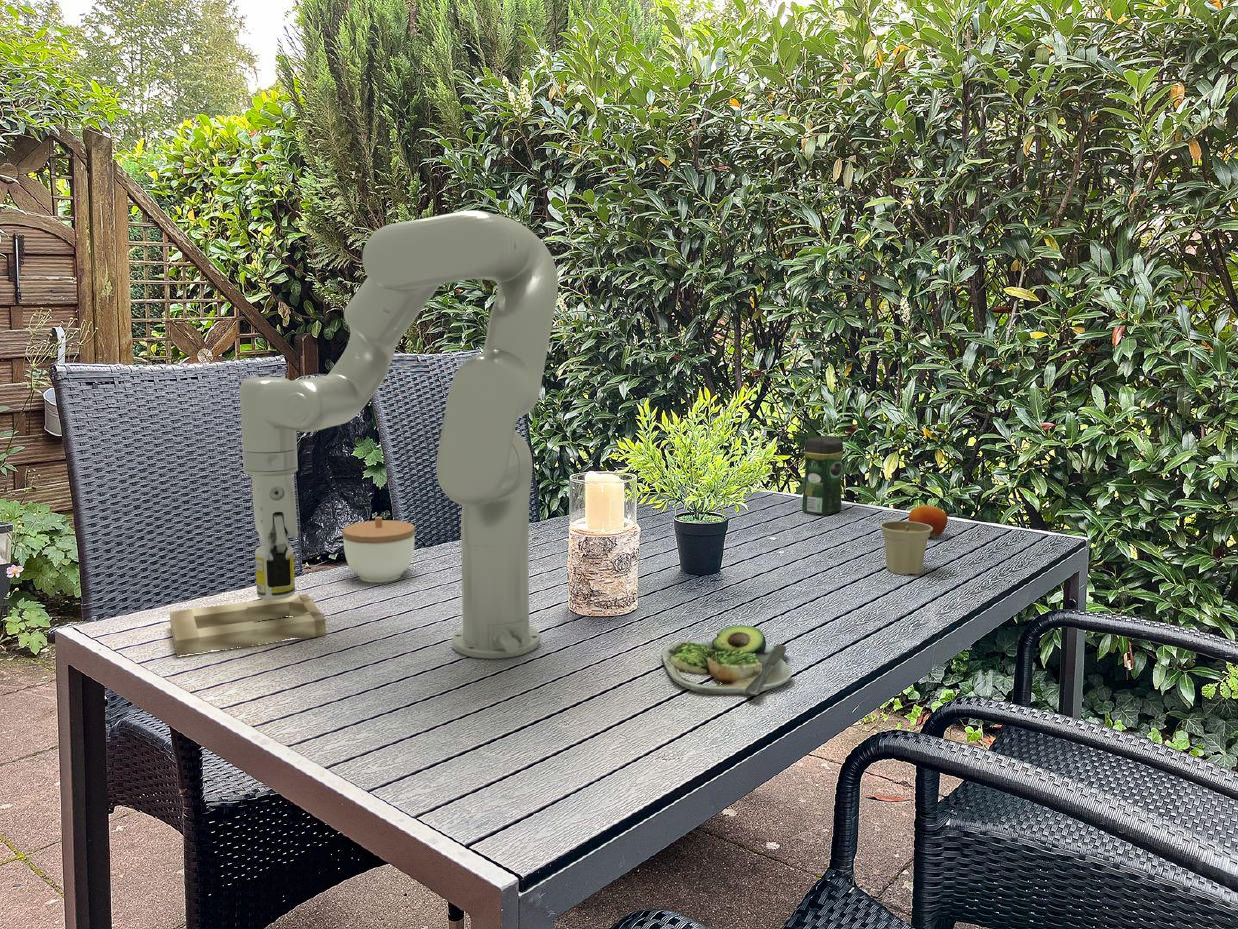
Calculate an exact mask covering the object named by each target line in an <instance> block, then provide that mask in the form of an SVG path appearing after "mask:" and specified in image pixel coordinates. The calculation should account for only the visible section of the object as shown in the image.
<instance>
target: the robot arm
mask: <svg viewBox="0 0 1238 929" xmlns="http://www.w3.org/2000/svg"><path fill="white" fill-rule="evenodd" d="M362 266H363V269H364V271H365V274H366V275H367V277H366V279H364V282H363V283H362V284H361V285H360V287H359V289H358V290H356V292H355V293H354V295H353V297H352V298H351V299H350V300H349V302H348V304H347V305H346V307H345V309H344V311H343V312H344V313H343V317H344V321H345V323H346V324H347V326H348V328H349V331H350V332H349V333H350V335H349V340H348V342H347V345H346V347H345V349H344V351H343V353H342V354H341V356H340V357H339V359H338V360H337V362H336V363H335V364H334V366H333V367H332V368H331V370H330V371H329V373H328V374H326V375H322V376H313V377H309V378H300V379H295V380H290V379H289V378H285V377H280V376H279V377H278V376H260V377H259V376H257V377H255V376H254V377H248V378H246V379H244V380H243V381H241V384H240V386H239V403H240V423H241V424H240V426H241V427H240V428H241V441H242V442H241V444H242V446H241V448H242V463H243V464H242V465H243V466H242V467H243V474H246V475H250V476H251V477H252V478H251V481H252V482H251V484H252V485H251V486H252V504H253V505H252V506H253V516H254V526H255V531H256V532H257V533H258V536H259V535H260V536H261V538H262V539H263V540H265V541H266V542H267V549H268V559H269V560H266V564H267V584H268V587H279V586H287V585H290V584H291V575H290V558H289V551H288V544H289V541H288V540H289V539H287V534H288V537H290V538H291V539H292V540H296V539H297V538H298V536H299V531H298V521H297V520H298V519H297V509H296V508H297V507H296V506H297V505H296V496H295V495H296V494H295V487H294V479H293V473H297V472H298V471H299V468H298V467H299V466H298V464H299V463H298V462H299V461H298V442H297V440H298V439H297V438H298V437H297V432H300V433H301V432H302V433H309V432H310V433H311V432H316V431H322V430H325V429H327V428H328V429H329V428H331V427H336V426H341V425H343V424H346V423H349V422H351V420H353V419H354V418H355V417H357V416H358V415H359V414H360V413H361V411H362V410H363V409H364V408H365V407H366V405H367V404H368V403H369V401H370V400H371V398H372V397H373V396H374V395H375V393H376V392H377V390H378V389H379V388H380V387H381V384H382V383H383V382H384V380H385V377H386V376H387V374H388V372H389V370H390V367H391V363H392V361H393V359H394V356H395V351H396V347H397V345H398V344H399V343H400V340H401V339H402V338H403V336H404V335H405V334H406V332H407V331H408V330H409V328H410V326H411V325H412V324H413V323H414V321H415V320H416V318H417V317H418V316H419V314H420V313H421V312H422V310H423V309H424V308H425V307H426V305H428V302H429V301H430V299H432V297H433V296H434V294H435V293H436V291H437V290H438V289H439V288H440V286H441V285H442V284H443V285H444V284H447V283H454V282H461V281H468V280H470V281H471V280H485V281H486V280H487V281H494V282H495V283H496V285H497V293H496V298H495V300H494V303H493V304H492V305H493V306H492V308H491V311H490V314H489V318H488V326H487V333H486V336H485V341H484V346H483V349H482V353H479V354H476V355H474V356H471V357H469V358H468V359H466V361H464V362H463V363H462V364H461V365H460V367H459V368H458V369H457V371H456V373H455V374H454V376H453V378H452V382H451V384H450V387H449V390H448V395H447V400H446V404H445V405H446V406H445V412H444V417H443V422H442V427H441V431H440V432H441V433H440V438H439V444H438V450H437V453H436V454H437V455H436V463H435V464H436V465H435V466H436V467H435V468H436V469H435V470H436V477H437V480H438V484H439V487H440V488H441V490H442V491H443V493H444V494H445V495H446V496H447V497H448V499H449V500H451V501H452V502H454V503H456V504H457V505H460V506H462V508H461V517H460V518H461V520H460V521H461V522H460V546H461V547H460V549H461V550H460V551H461V552H460V553H461V556H460V557H461V558H460V559H461V593H462V594H461V596H462V597H461V598H462V599H461V601H462V602H461V603H462V607H461V608H462V629H460V630H458V631H456V632H455V633H454V634H453V635H452V637H451V638H452V639H451V645H452V648H453V650H455V651H456V652H458V653H459V654H460V655H461V654H462V655H464V656H467V657H472V658H477V659H488V660H489V659H506V658H507V659H508V658H513V657H518V656H521V655H526V654H528V653H530V652H532V651H533V650H535V649H536V648H538V647H539V645H540V643H541V635H540V632H539V631H538V630H537V629H535V628H534V627H531V626H530V567H529V566H530V558H529V556H530V552H529V548H530V547H529V544H530V543H529V539H530V538H529V537H530V530H529V528H530V522H529V521H530V517H529V516H530V501H531V499H530V498H531V490H532V489H531V488H532V478H533V459H532V458H533V457H532V453H531V450H530V447H529V444H528V442H527V441H526V439H524V437H523V436H522V435H521V433H519V432H517V431H516V425H517V421H518V419H520V418H522V417H523V416H525V415H526V414H528V413H530V412H531V411H532V410H533V409H534V408H535V406H536V404H537V403H538V400H539V397H540V394H541V388H542V381H543V376H544V371H545V364H546V360H547V354H548V351H549V344H550V337H551V332H552V326H553V323H554V316H555V311H556V305H557V300H558V291H559V278H558V272H557V267H556V264H555V260H554V258H553V256H552V253H551V251H550V250H549V249H548V247H547V246H546V244H545V243H544V242H543V241H542V240H541V239H540V238H539V236H537V234H535V233H534V231H532V230H530V229H529V228H527V226H525V225H524V224H521V223H520V222H518V221H516V220H513V219H512V218H508V217H506V216H502V215H498V214H494V213H491V212H488V211H483V210H462V211H456V212H450V213H446V214H440V215H435V216H431V217H424V218H419V219H415V220H406V221H400V222H396V223H391V224H387V225H384V226H382V227H380V228H378V229H377V230H375V231H374V232H373V234H371V235H370V236H369V238H368V239H367V241H366V243H365V245H364V247H363V250H362ZM273 535H275V538H276V539H270V536H273ZM272 544H276V545H274V546H273V548H272Z"/></svg>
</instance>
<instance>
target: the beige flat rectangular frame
mask: <svg viewBox="0 0 1238 929" xmlns="http://www.w3.org/2000/svg"><path fill="white" fill-rule="evenodd" d="M324 614H325V613H324V612H321V611H320V610H319V608H318V606H317V605H316V604H315V602H314V598H311V597H310V596H309V593H305V594H297V595H292V596H290V597H288V598H284V599H278V600H265V599H259V600H258V599H257V600H250V601H243V602H242V601H241V602H235V603H229V604H228V603H227V604H220V605H212V606H205V607H197V608H189V609H182V610H174V611H169V621H170V622H169V623H170V631H171V630H172V631H171V634H172V635H173V636H172V640H173V639H174V641H173V645H174V644H175V645H174V650H175V649H176V650H175V653H176V654H177V655H176V654H175V655H176V657H177V656H180V655H187V654H195V653H203V652H208V651H211V650H223V649H224V650H225V649H231V648H237V647H238V648H239V647H246V646H252V645H258V644H266V643H271V642H276V641H282V640H285V639H290V638H305V639H310V638H311V637H312V638H316V637H324V636H327V628H326V627H327V626H326V618H325V616H324ZM286 616H293V617H292V618H291V617H288V618H282V617H286ZM277 618H281V619H277ZM267 619H274V620H267ZM262 620H267V621H262ZM258 621H260V622H258ZM266 645H267V644H266ZM246 648H247V647H246ZM239 649H240V648H239Z"/></svg>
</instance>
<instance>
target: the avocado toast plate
mask: <svg viewBox="0 0 1238 929" xmlns="http://www.w3.org/2000/svg"><path fill="white" fill-rule="evenodd" d="M786 652H787V646H785V645H783V644H779V643H777V644H776V645H773V646H771V645H769V644H767V640H766V637H765V635H764V633H763V632H762V631H761V630H760V629H759V628H757V627H755V626H752V625H746V624H745V625H743V624H742V625H734V626H733V625H732V626H729V627H725V628H723V629H721V630H720V632H717V633H716V637H715V638H713V639H712V640H711V641H710V640H709V641H708V640H702V641H701V640H699V641H698V640H691V641H690V640H687V641H685V640H684V641H677V642H674V643H671V644H669V645H667V646H665V647H664V648H663V649H662V651H661V654H660V655H661V663H662V665H663V666H664V667H665V669H666V672H667V674H668V675H669V676H670V678H671V679H672V680H673V681H674V682H675V683H676V684H678V685H680V686H681V687H683V688H684V687H685V689H686V690H689V689H690V691H692V692H695V691H696V693H699V694H704V693H707V695H712V694H714V695H715V694H732V695H746V694H748V695H749V696H758V695H760V694H761V693H762V692H765V691H768V690H771V689H774V688H777V687H779V686H781V685H783V684H786V683H787V682H789V681H790V680H791V678H792V674H793V673H792V671H791V669H790V667H789V666H788V665H787V662H785V661H784V659H783V657H784V655H786ZM678 670H682V671H681V672H685V671H687V672H686V673H690V672H692V673H691V674H696V673H699V674H698V675H703V674H705V676H708V675H711V676H712V677H714V678H716V679H714V678H713V679H714V682H716V681H718V682H721V683H722V684H721V685H719V684H715V685H716V686H715V685H708V684H702V683H697V682H694V681H693V680H689V679H686V678H685V677H684V676H683V675H682V674H681V672H680V671H679V672H680V673H679V672H678ZM681 675H682V676H683V677H684V678H683V677H682V676H681ZM712 677H711V678H712ZM718 682H717V683H718ZM714 695H713V696H714ZM715 696H716V695H715Z"/></svg>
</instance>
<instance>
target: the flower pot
mask: <svg viewBox="0 0 1238 929" xmlns="http://www.w3.org/2000/svg"><path fill="white" fill-rule="evenodd" d="M879 527H880V528H881V531H882V532H881V533H882V535H883V538H884V549H885V550H884V551H885V560H886V569H887V571H889V572H890V573H892V574H895V575H901V576H906V575H907V576H908V575H909V574H912V575H914V576H915V575H919V574H921V573H922V570H923V566H924V565H923V564H924V559H925V556H926V555H925V554H926V549H927V544H928V541H929V540H928V539H929V538H931V537H930V532H931V531H932V530H933V527H931V526H930V525H927V524H923V523H919V522H912V521H909V520H888V521H883V522H881V523H880V524H879Z"/></svg>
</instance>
